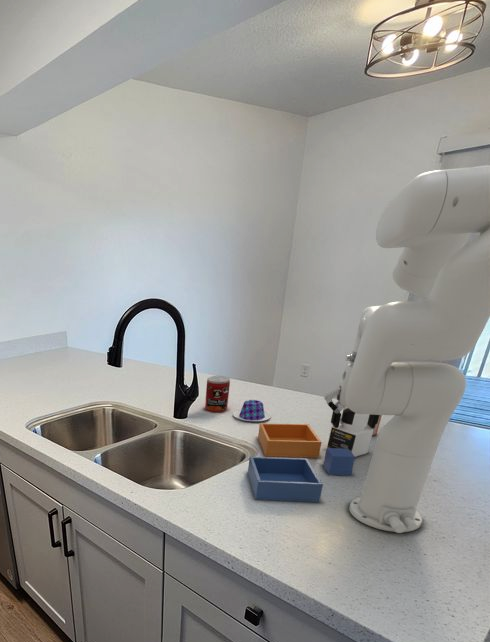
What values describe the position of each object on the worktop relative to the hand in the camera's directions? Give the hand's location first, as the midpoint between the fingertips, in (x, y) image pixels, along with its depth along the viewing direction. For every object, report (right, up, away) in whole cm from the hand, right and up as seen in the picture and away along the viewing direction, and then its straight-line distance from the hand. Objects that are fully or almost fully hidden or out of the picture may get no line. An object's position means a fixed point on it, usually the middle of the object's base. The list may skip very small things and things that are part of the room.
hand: (352, 426), depth 115 cm
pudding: (-15, +6, +31) cm, 35 cm away
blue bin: (-24, -16, -12) cm, 31 cm away
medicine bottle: (0, -7, +3) cm, 8 cm away
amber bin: (-14, -5, +8) cm, 17 cm away
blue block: (-8, -12, -6) cm, 15 cm away
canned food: (-24, +10, +40) cm, 48 cm away
